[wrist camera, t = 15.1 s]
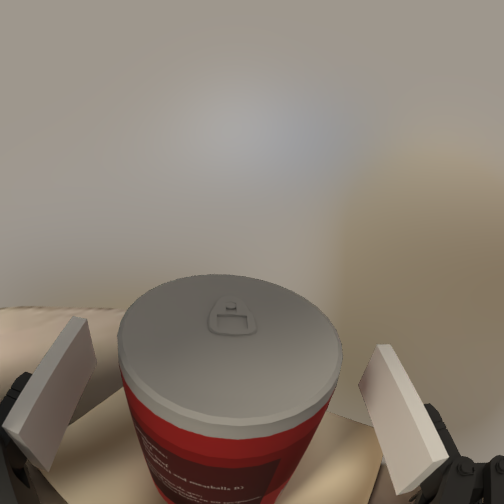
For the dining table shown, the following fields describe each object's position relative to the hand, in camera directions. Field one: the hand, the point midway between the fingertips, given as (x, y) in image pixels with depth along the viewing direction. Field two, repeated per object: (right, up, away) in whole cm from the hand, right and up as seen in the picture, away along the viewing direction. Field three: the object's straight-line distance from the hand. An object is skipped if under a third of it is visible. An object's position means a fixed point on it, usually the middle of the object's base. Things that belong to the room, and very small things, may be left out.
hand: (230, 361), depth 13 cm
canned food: (-1, -8, +2) cm, 8 cm away
